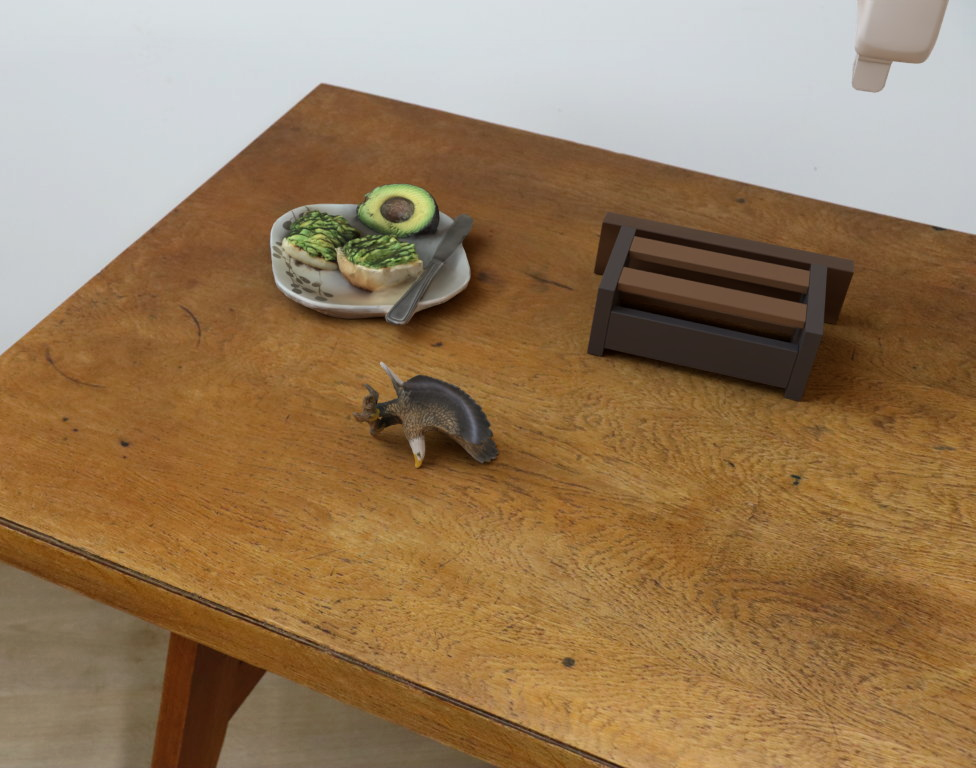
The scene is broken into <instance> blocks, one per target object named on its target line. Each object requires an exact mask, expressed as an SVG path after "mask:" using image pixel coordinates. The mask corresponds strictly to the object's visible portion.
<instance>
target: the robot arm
mask: <svg viewBox="0 0 976 768" xmlns="http://www.w3.org/2000/svg"><path fill="white" fill-rule="evenodd" d="M948 4H949V0H857V4H856V20H855V21H856V22H855V36H854V51H855V55H854V58H853V62H852V71H851V72H852V73H851V86H852V88H853V89H854V90H855V91H860V92H869V93H875V94H876V93H879V92H881V91H883V90H884V88H885V86H886V84H887V80H888V76H889V73H890V70H891V68H892V67H891V66H892V64H893V62H894V63H895V62H896V63H905V64H914V65H915V64H917V65H919V64H923V63H925V62H926V61H927V60H928V59H929V57H930V56H931V54H932V53H933V50H934V48H935V46H936V43H937V41H938V38H939V35H940V31H941V29H942V24H943V22H944V18H945V15H946V11H947V9H948Z"/></svg>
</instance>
